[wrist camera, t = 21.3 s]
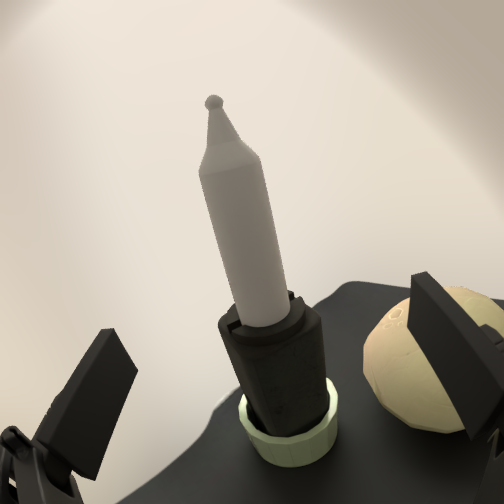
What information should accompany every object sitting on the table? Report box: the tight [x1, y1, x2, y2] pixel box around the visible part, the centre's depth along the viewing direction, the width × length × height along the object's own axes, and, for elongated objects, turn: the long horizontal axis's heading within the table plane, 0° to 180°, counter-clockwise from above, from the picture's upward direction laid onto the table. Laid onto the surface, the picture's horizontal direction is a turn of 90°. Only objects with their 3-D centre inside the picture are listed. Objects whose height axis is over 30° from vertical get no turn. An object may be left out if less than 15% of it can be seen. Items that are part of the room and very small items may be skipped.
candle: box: [199, 95, 328, 438], centre depth 16 cm, size 5×5×25 cm
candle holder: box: [239, 378, 338, 467], centre depth 20 cm, size 8×8×5 cm
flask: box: [363, 287, 504, 434], centre depth 17 cm, size 9×16×18 cm
